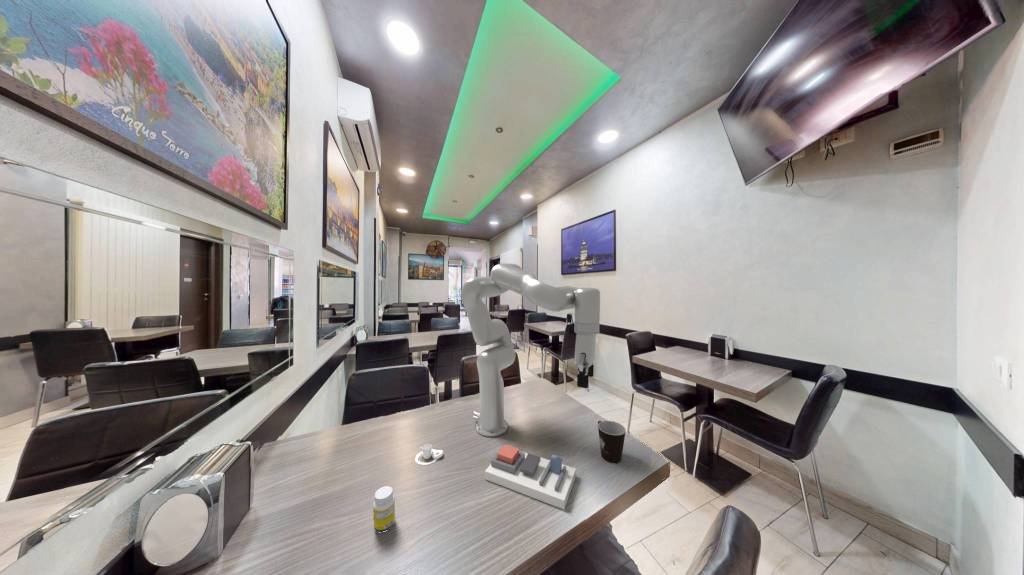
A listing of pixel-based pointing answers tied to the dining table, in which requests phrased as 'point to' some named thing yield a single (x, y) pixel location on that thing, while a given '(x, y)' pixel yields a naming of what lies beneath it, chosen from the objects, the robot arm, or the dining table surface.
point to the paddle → (556, 464)
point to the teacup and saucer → (428, 454)
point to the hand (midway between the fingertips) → (585, 381)
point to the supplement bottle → (384, 509)
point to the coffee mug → (611, 440)
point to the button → (508, 454)
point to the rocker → (530, 464)
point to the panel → (534, 480)
